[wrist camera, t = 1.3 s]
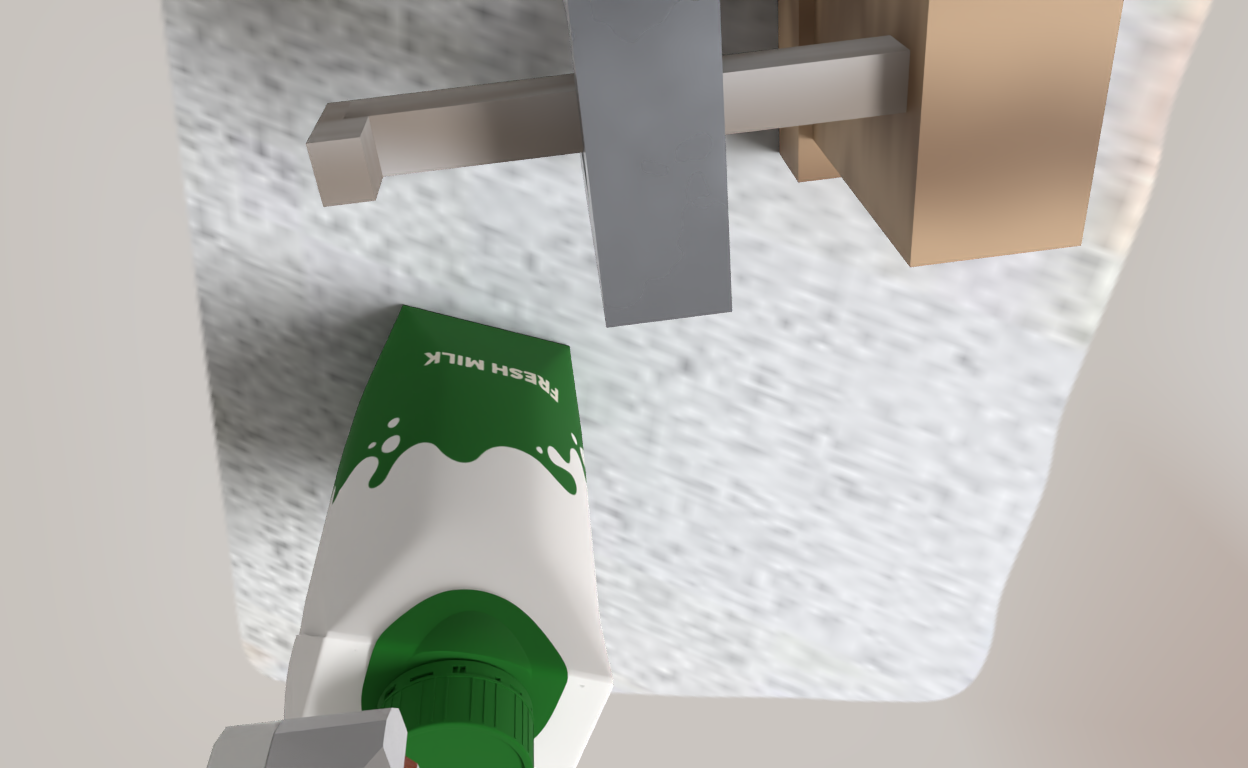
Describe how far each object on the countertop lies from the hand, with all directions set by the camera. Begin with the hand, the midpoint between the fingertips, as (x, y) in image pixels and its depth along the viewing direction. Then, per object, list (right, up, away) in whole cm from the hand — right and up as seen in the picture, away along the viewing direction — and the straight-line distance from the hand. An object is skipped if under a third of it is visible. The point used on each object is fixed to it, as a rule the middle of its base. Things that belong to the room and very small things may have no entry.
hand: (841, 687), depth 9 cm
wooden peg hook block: (0, +16, +25) cm, 29 cm away
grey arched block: (-2, +14, +21) cm, 25 cm away
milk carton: (-9, +2, +33) cm, 34 cm away
